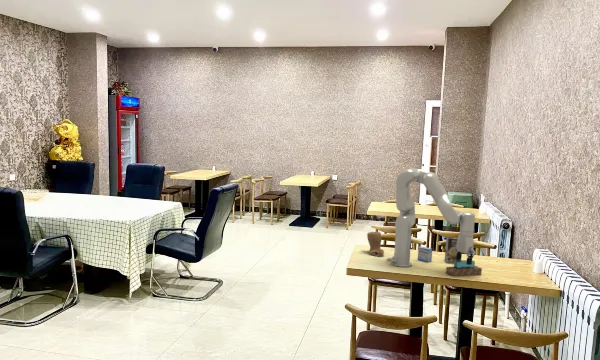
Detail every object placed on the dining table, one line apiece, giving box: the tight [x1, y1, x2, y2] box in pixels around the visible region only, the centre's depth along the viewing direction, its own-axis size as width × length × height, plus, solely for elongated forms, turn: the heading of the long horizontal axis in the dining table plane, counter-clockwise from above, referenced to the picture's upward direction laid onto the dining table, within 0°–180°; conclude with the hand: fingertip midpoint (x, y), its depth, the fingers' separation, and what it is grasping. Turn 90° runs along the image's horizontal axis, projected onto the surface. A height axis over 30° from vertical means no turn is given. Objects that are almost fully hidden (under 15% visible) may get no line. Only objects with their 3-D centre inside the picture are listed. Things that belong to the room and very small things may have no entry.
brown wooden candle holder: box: [445, 265, 483, 277], centre depth 273 cm, size 20×6×4 cm, turn 107°
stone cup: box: [366, 231, 385, 257], centre depth 312 cm, size 15×12×15 cm
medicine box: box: [417, 245, 433, 263], centre depth 300 cm, size 8×4×9 cm, turn 47°
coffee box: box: [444, 236, 458, 264], centre depth 299 cm, size 9×6×16 cm
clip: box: [453, 259, 476, 269], centre depth 273 cm, size 12×3×8 cm, turn 106°
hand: (463, 262), depth 272 cm, fingers open, 9 cm apart
